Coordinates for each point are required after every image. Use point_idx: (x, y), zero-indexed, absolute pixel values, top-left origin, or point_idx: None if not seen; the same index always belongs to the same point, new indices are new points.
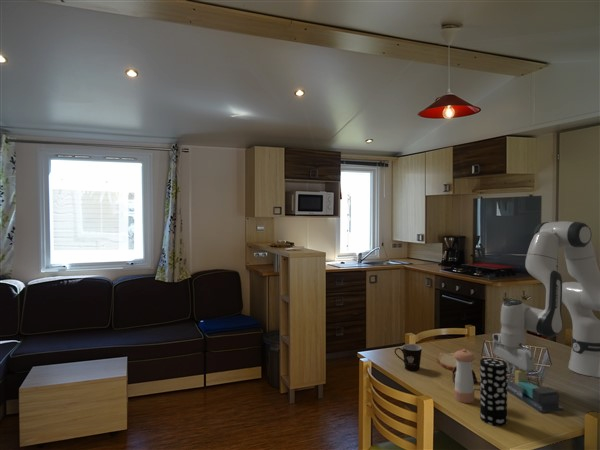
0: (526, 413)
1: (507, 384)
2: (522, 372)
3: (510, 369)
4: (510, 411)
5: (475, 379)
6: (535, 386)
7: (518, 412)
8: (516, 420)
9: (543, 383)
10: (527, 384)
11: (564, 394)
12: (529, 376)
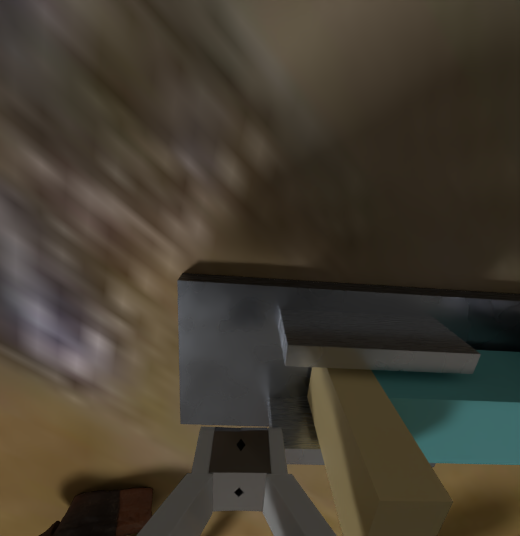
0: (506, 475)
1: (231, 389)
2: (429, 531)
3: (231, 508)
4: (456, 514)
5: (129, 514)
6: (514, 411)
7: (480, 495)
8: (515, 533)
9: (250, 25)
10: (452, 441)
11: (502, 47)
12: (54, 16)
